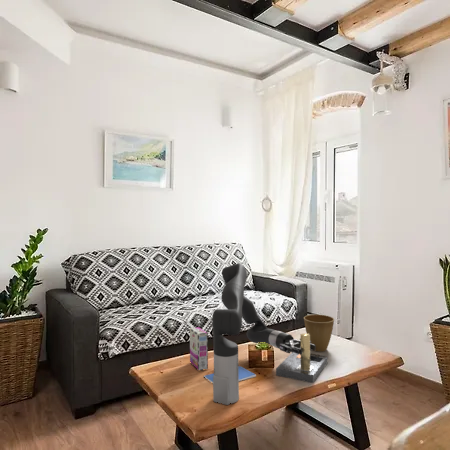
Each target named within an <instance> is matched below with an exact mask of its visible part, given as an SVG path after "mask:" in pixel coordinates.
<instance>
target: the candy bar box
mask: <svg viewBox="0 0 450 450" xmlns="http://www.w3.org/2000/svg"><path fill="white" fill-rule="evenodd" d="M208 335H209V333H208V332H206V331H205V330H204V329H202V328H201V327H200V326H199V327H190V328H189V363H190V362H191V363H192V364H193V365H194V366H195V367H196V368H197V369H198V370H201V371H204V370H203V369H207V370H208V369H209V366H208V365H209V362H208V361H209V358H208V357H209V349H208V347H209V346H208V343H209V342H208V339H209V338H208V337H209V336H208ZM191 363H190V364H191ZM192 364H191V365H192ZM193 365H192V366H193ZM194 366H193V367H194ZM195 367H194V368H195ZM196 368H195V369H196ZM197 369H196V370H197ZM198 370H197V371H198Z"/></svg>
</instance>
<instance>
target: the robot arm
mask: <svg viewBox="0 0 450 450" xmlns="http://www.w3.org/2000/svg"><path fill="white" fill-rule="evenodd" d="M221 275H222V279H223V281H224V283H225V285H224V287H223V288H222V292H221V296H220V297H221V303H222V305H223V306H224V307H225V309H224V308H223V309H222V308H217V309H214V310H213V313H212V321H211V323H212V337H213V339H212V340H213V373H214V376H213V384H212V388H213V389H212V393H213V394H212V395H213V397H212V398H213V399H212V400H213V401H214V402H213V401H212V402H213V403H217V402H218V403H217V404H221V403H222V405H226V406H229V405H231V404H235V403H237V402H238V401H239V399H240V396H239V395H240V393H239V391H240V386H239V384H240V383H239V382H240V381H239V370H238V366H239V345H238V344H237V343H236V342H234V341H232V340H230V339H227V338H226V337H225V336H236V335H238V334H239V333H241V331H242V326H243V320H244V323H246V324H247V325H252V324H254V325H252V326H251V327H250V328H249V329H247V331H246V337H247V339H248V340H249V341H250V342H251V343H254V344H259V343H258V342H266V343H265V344H267V343H268V344H267V345H269V344H270V346H272V347H274V348H277V349H278V350H280V351H281V352H284V353H287V354H291V353H297V354H300V355H301V354H302V349H301V348H300V339H297V338H294V337H293V335H292V334H289V333H287V332H283V331H280V330H275V329H272V328H268V327H267V325H266V324H265V322H264V321H263V320H262V319H261V317H260V316H259V315H258V313H257V310H256V308H255V305H254V303H253V302H252V301H251V300H250V299H249V298H248V297H247V296H245V287H246V282H247V279H248V272H247V269H246V267H245V266H244V265H243V263H240V262H239V263H234V264H232V265H229V266H226V267H223V269H222V270H221ZM311 350H312V351H314V350H316V346H315V345H314V344H311V341H310V351H311ZM230 403H231V404H230Z"/></svg>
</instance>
